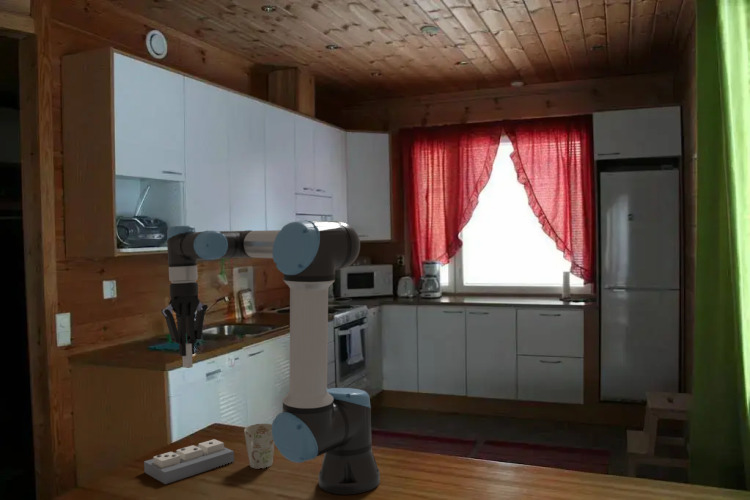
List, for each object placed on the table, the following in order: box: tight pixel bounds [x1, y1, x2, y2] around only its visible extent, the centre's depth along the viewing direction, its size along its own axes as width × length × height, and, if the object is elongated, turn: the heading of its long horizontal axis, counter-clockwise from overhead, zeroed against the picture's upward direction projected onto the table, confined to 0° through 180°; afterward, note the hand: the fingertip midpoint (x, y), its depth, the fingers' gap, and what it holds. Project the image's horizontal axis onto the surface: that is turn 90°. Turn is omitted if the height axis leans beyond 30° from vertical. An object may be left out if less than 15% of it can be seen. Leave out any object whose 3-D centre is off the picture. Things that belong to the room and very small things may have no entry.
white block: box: [197, 438, 225, 455], centre depth 170 cm, size 5×5×4 cm
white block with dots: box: [152, 451, 180, 469], centre depth 161 cm, size 5×5×4 cm
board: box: [143, 445, 235, 485], centre depth 165 cm, size 12×20×3 cm, turn 135°
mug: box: [243, 423, 275, 470], centre depth 163 cm, size 8×13×10 cm, turn 174°
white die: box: [175, 445, 203, 462], centre depth 165 cm, size 5×5×4 cm
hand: (187, 367), depth 169 cm, fingers closed
